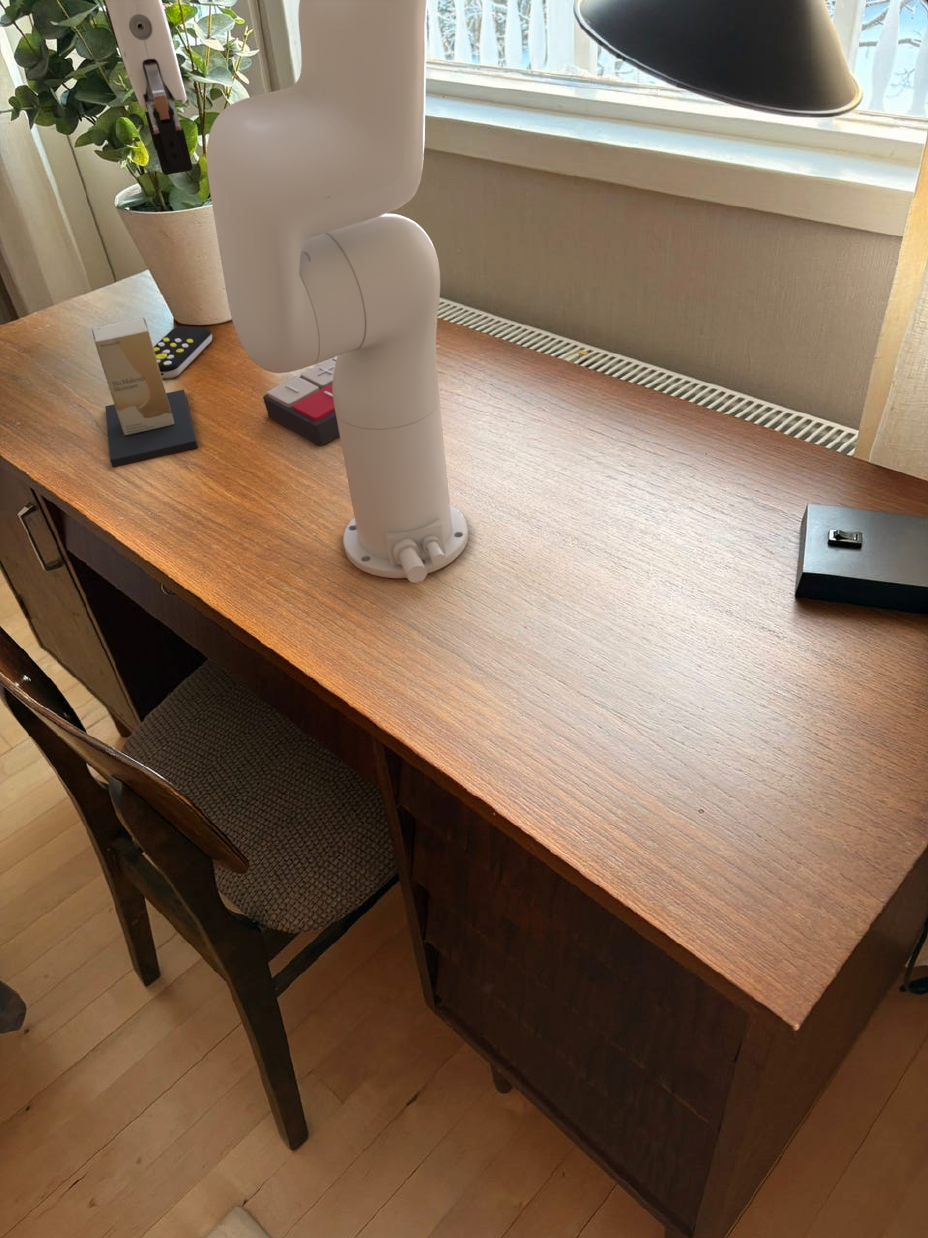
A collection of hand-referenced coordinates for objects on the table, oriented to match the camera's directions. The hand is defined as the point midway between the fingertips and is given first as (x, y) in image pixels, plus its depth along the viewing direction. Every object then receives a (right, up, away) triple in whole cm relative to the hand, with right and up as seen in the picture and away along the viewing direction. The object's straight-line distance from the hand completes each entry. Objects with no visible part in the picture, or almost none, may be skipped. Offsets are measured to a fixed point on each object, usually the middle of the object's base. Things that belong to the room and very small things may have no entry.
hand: (173, 159), depth 103 cm
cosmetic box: (-7, -26, +12) cm, 30 cm away
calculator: (+17, -24, +14) cm, 33 cm away
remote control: (-8, -14, +28) cm, 32 cm away
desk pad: (-7, -27, +13) cm, 31 cm away
